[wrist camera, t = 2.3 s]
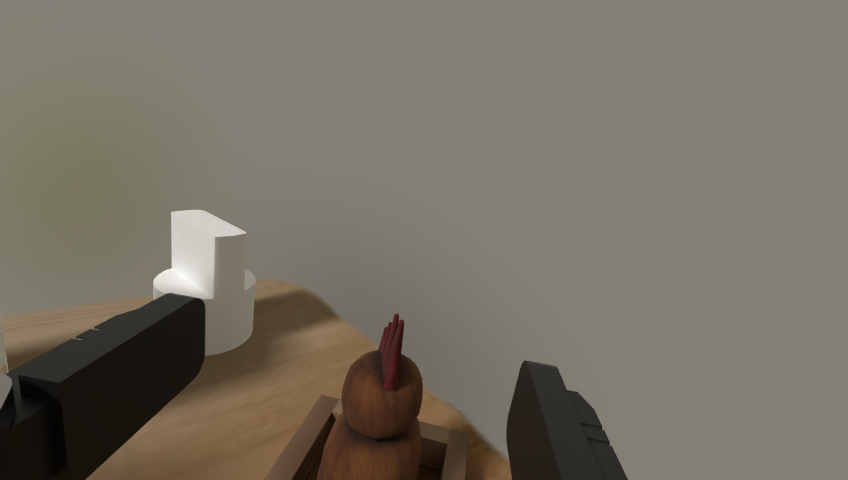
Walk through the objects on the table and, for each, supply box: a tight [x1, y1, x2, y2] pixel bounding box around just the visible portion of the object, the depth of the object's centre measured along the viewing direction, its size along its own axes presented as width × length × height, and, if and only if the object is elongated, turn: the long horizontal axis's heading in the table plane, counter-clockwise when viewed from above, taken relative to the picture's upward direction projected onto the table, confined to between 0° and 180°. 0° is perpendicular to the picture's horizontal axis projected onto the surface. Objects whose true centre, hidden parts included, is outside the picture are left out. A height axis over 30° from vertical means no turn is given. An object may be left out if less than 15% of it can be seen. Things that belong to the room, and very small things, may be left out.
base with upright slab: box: [153, 210, 256, 356], centre depth 40 cm, size 9×9×12 cm
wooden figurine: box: [317, 314, 423, 480], centre depth 24 cm, size 7×6×15 cm
